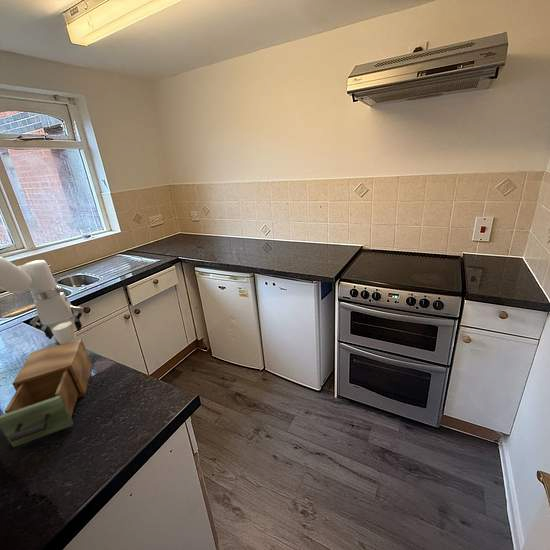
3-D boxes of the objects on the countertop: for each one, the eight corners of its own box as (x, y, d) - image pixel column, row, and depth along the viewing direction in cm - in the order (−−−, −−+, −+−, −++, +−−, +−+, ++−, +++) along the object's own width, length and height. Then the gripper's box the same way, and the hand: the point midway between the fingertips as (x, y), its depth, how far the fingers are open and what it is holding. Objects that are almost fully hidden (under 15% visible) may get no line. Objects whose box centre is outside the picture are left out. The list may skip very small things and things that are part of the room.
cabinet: (85, 395, 85) (71, 365, 82) (29, 414, 81) (11, 383, 77) (92, 365, 99) (81, 338, 95) (45, 380, 95) (31, 352, 91)
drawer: (68, 439, 70) (53, 411, 67) (5, 464, 66) (-14, 435, 63) (82, 389, 87) (71, 364, 84) (32, 406, 83) (18, 381, 79)
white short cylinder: (71, 335, 121) (65, 320, 118) (82, 338, 118) (75, 322, 115) (54, 345, 115) (47, 329, 113) (64, 348, 112) (57, 332, 110)
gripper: (75, 284, 115) (91, 322, 121) (22, 296, 110) (42, 336, 116) (71, 290, 109) (89, 330, 115) (15, 304, 103) (36, 345, 109)
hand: (65, 333), depth 115 cm, fingers open, 9 cm apart
